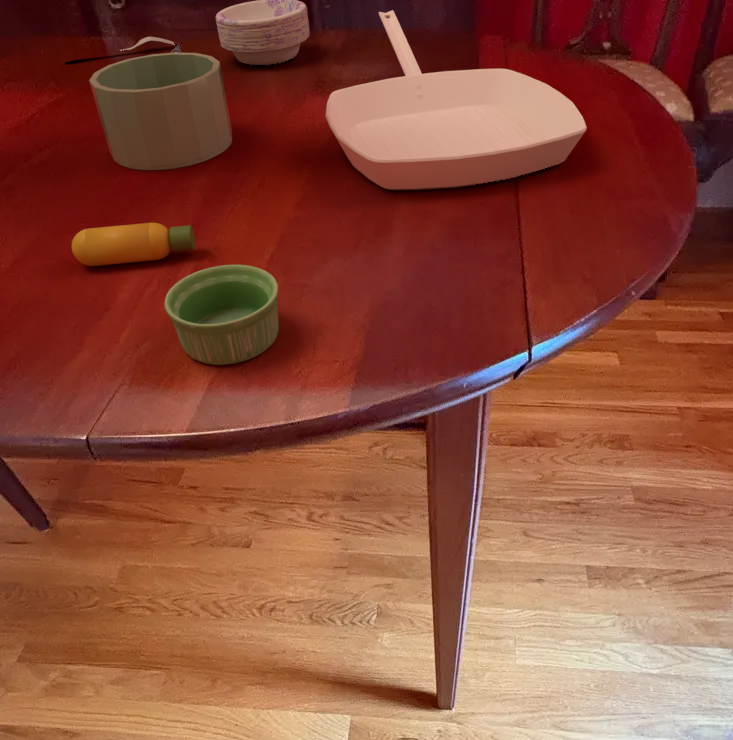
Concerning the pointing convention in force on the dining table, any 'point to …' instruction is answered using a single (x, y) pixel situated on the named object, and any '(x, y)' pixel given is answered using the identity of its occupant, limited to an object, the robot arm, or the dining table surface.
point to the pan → (451, 124)
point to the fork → (150, 40)
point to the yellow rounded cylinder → (130, 243)
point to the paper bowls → (263, 30)
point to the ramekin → (225, 313)
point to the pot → (163, 110)
